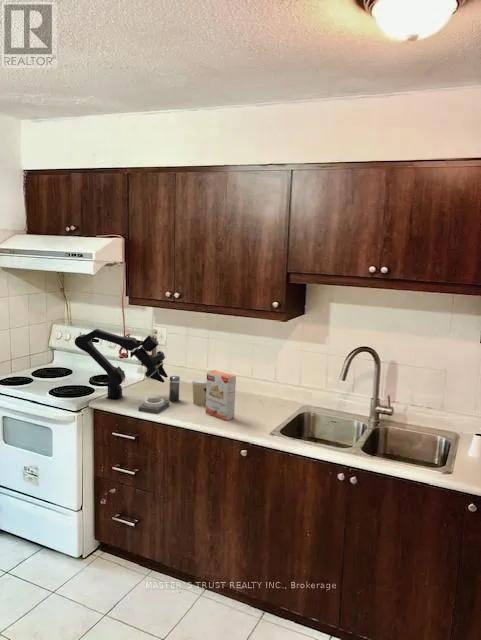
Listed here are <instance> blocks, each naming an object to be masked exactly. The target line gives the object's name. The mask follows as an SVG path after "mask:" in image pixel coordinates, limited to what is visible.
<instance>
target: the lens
mask: <svg viewBox="0 0 481 640" xmlns="http://www.w3.org/2000/svg"><path fill="white" fill-rule="evenodd" d="M180 379H181V377H180V376H177V375H171V376H169V390H168V391H169V398H168V402H169V403H179V402H180V382H181V381H180Z"/></svg>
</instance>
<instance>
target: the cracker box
mask: <svg viewBox="0 0 481 640" xmlns="http://www.w3.org/2000/svg"><path fill="white" fill-rule="evenodd" d="M206 379H207V385H206V405H205V414H208V415H210V416H213V417H215V418H218V419H220V420H223V421H229V420H233V419H234V418H235V408H236V407H235V406H236V405H235V401H236V383H237V381H236V380H237V376H236V375H233V374H228V373H226V372H222V371H219V370H216V369H215V370H209V371H207V372H206Z"/></svg>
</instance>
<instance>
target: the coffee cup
mask: <svg viewBox="0 0 481 640" xmlns="http://www.w3.org/2000/svg"><path fill="white" fill-rule="evenodd" d="M206 385H207V378H204V377H202V378H201V377H200V378H198V377H197V378H194V379H193V380H192V400H193V402H192V403H193V404H194V405H195V406H201V407H202V406H206Z"/></svg>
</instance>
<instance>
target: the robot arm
mask: <svg viewBox="0 0 481 640" xmlns="http://www.w3.org/2000/svg"><path fill="white" fill-rule="evenodd" d="M94 339H98V340H99V339H100V340H103V341H106V342H109V343H112V344H115V345H118V346H120V348H122V349H124V350H126V351H128V352H129V351H130V356H129V358H133V357H135V358H136V359H137V360H138V361H139V362H140V365H141V366H144V367H145V368H146V371H145V373H144V374H145V377H146V378H147V379H148V378H149V379H152V380H155V381H158V382H160V383H165V379H164V378H166V379H167V378H168V377H169V375H168V374H167V373H166V371H165V368H164V360H165V359H166V356H165V353H164V352H163V351H161V350H159V351H157V352H156V354H155V355H153V354H150V353H151V352H152V351H154V349H155V348H157V347H158V346H159V345H160V344H159V341H158V340H157V339H156V338H154V337H153V336H151V335H150V334H149V335H147V337H146V338H145V339H143V340H139V339H137V338H135V337H133V336H132V337H131V336H121V335H118V334H115V333H111V332H109V331H104V330H101V329H99V328H95V329H93V330H92V331H90V332H89V333H86V334H85V333H83V334H80V335H78V336H77V337H76V338H75V339H74V345H75V347H77V348H78V349H80V350H81V351H83V352H85V353H87V354H88V355H89V356H90V357H91V358H92V359H93V360H94V361H95V362H96V363H97V364H98V366H99V367H101V368H102V369H103V370H104V371H105V372H106V373H107V376H108V379H109V381H108V382H107V383H106V387H107V396H106V397H105V398H106V399H110V400H118V399H121V398H122V397H124V395H123V388H122V385H121V384H122V383H123V382H124V380H125V379H126V374H125V370H123V368H121V367H120V366H119V365H117V367H116V366H114V365H113V364H112V363H111V362H110V360H108V359H107V357H105V356H104V355H103V354H102V353H101V351H99V350H98V349H97V348H96V347H95V345H94V343H93V341H92V340H94ZM163 377H164V378H163Z"/></svg>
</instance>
